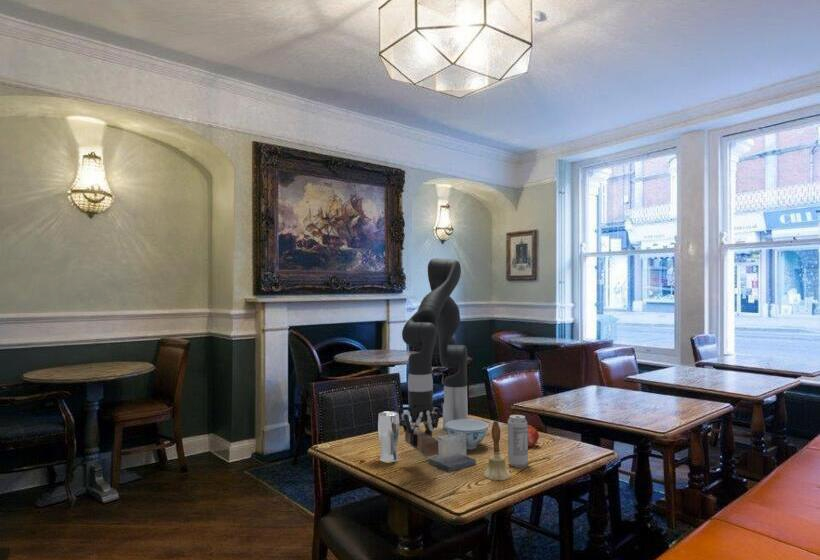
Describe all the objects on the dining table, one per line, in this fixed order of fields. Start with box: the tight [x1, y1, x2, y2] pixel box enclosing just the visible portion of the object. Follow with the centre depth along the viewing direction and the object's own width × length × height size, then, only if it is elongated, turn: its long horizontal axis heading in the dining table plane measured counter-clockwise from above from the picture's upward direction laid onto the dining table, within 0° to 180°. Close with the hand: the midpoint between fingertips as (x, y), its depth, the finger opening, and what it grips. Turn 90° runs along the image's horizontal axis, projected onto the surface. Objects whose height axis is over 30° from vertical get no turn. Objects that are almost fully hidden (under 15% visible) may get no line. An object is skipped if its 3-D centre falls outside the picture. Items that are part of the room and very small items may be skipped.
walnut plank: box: [404, 427, 439, 457], centre depth 156 cm, size 16×4×4 cm, turn 22°
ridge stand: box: [428, 432, 477, 473], centre depth 162 cm, size 10×11×9 cm
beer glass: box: [377, 411, 400, 463], centre depth 166 cm, size 7×7×15 cm
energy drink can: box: [507, 414, 529, 468], centre depth 161 cm, size 6×6×15 cm
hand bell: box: [482, 420, 512, 481], centre depth 152 cm, size 8×8×16 cm
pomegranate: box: [527, 424, 540, 448], centre depth 181 cm, size 7×7×10 cm
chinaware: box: [445, 419, 489, 450], centre depth 180 cm, size 15×15×8 cm
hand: (421, 444), depth 156 cm, fingers closed on walnut plank, 4 cm apart
